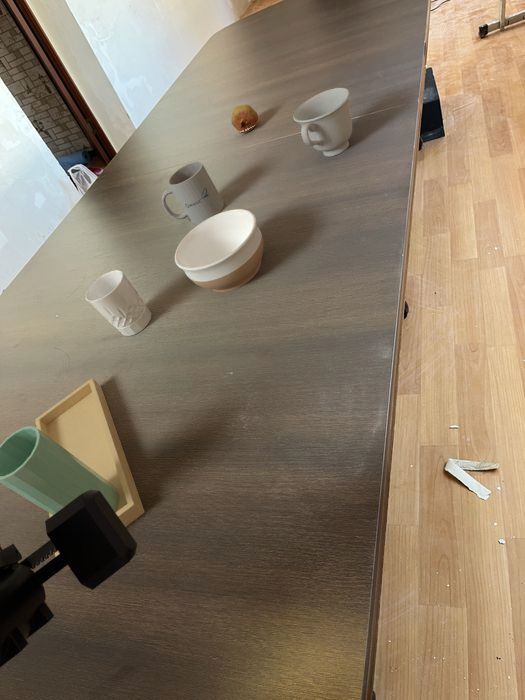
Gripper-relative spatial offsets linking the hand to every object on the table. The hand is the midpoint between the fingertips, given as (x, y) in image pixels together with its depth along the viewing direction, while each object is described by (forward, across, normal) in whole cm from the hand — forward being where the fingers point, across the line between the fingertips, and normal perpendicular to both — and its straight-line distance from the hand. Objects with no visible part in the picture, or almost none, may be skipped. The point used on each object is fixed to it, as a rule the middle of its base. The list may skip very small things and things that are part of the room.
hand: (56, 561), depth 45 cm
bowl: (+42, -35, -22) cm, 58 cm away
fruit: (+80, -67, -61) cm, 121 cm away
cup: (+20, +2, -2) cm, 21 cm away
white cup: (+45, -14, -26) cm, 54 cm away
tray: (+28, +2, -8) cm, 29 cm away
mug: (+62, -39, -42) cm, 85 cm away
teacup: (+52, -68, -33) cm, 92 cm away
